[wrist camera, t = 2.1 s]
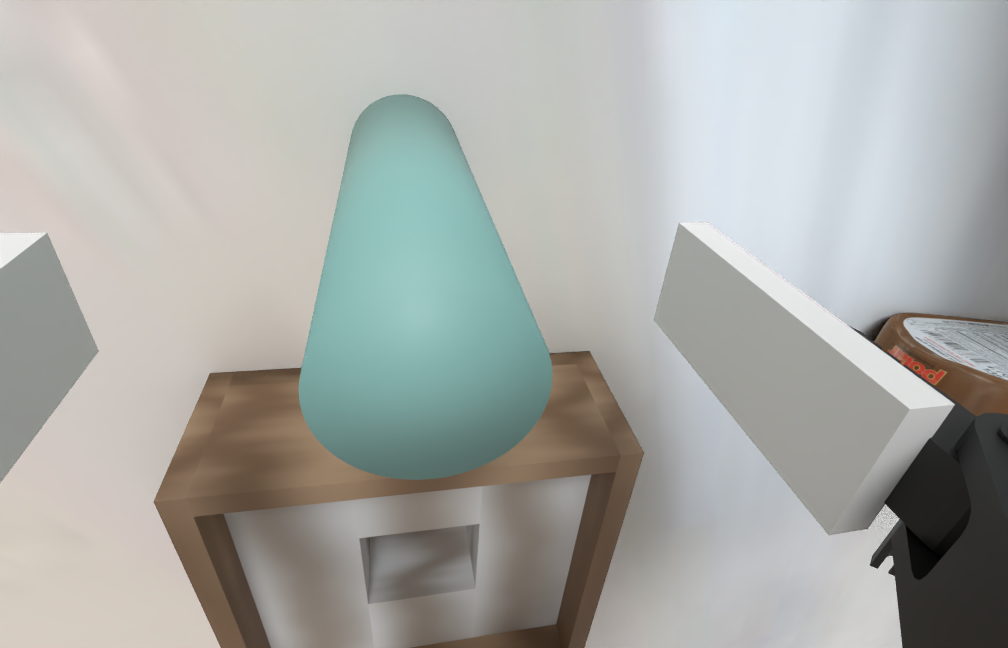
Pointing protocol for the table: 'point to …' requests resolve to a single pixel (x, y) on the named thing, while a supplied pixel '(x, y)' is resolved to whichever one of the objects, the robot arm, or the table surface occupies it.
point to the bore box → (397, 525)
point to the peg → (418, 311)
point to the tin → (954, 356)
